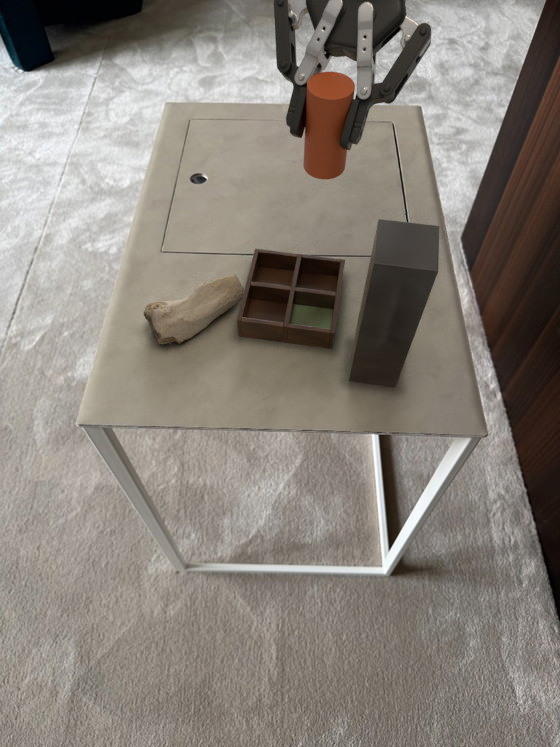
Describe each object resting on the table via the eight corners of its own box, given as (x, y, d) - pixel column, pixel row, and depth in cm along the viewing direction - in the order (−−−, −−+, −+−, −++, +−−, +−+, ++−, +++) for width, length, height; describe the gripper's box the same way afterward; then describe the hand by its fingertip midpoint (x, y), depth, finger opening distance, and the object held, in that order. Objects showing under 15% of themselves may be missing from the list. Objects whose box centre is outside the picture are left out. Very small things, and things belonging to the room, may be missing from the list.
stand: (397, 349, 72) (439, 225, 54) (395, 387, 69) (438, 271, 51) (353, 343, 73) (378, 218, 54) (348, 381, 70) (374, 263, 51)
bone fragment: (163, 355, 72) (156, 334, 68) (145, 321, 75) (137, 299, 71) (254, 315, 75) (252, 293, 71) (233, 284, 78) (230, 262, 74)
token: (347, 154, 53) (357, 73, 46) (342, 181, 51) (352, 101, 44) (306, 150, 53) (310, 69, 47) (300, 177, 51) (303, 96, 44)
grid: (342, 276, 79) (345, 259, 76) (332, 349, 72) (334, 333, 69) (256, 265, 80) (255, 248, 77) (238, 336, 74) (236, 320, 70)
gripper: (285, -127, 41) (231, 113, 46) (473, -99, 38) (396, 153, 43) (306, -71, 48) (258, 132, 53) (466, -43, 45) (400, 168, 50)
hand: (320, 140), depth 48 cm, fingers closed on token, 4 cm apart
